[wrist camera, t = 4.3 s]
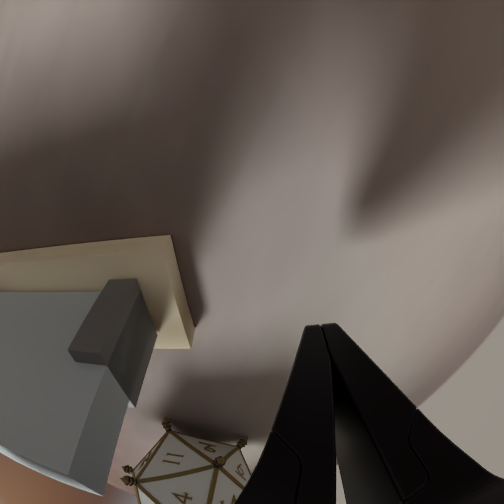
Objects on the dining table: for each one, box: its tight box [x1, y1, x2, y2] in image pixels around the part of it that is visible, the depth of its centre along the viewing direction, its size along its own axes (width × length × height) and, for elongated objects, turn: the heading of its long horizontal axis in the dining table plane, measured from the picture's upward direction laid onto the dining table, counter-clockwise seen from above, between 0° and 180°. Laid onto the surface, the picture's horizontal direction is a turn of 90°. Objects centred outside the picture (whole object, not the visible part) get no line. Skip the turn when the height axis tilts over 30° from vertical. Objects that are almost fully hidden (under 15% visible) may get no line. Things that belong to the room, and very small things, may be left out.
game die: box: [120, 417, 251, 504], centre depth 13 cm, size 9×8×10 cm
